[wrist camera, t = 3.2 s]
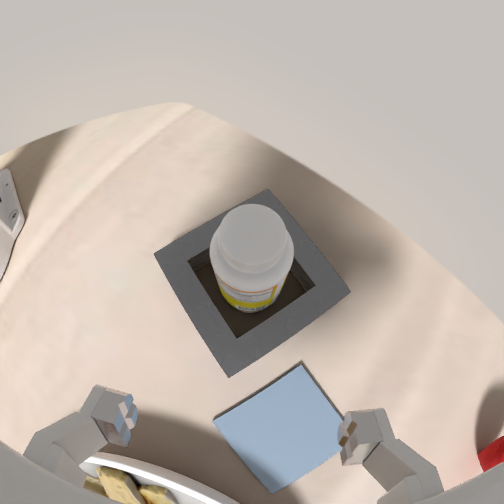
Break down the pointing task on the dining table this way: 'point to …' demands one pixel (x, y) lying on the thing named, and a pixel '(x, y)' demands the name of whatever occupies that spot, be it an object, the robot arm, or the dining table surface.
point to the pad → (283, 430)
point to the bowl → (144, 482)
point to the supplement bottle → (251, 257)
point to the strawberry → (492, 454)
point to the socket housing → (274, 328)
